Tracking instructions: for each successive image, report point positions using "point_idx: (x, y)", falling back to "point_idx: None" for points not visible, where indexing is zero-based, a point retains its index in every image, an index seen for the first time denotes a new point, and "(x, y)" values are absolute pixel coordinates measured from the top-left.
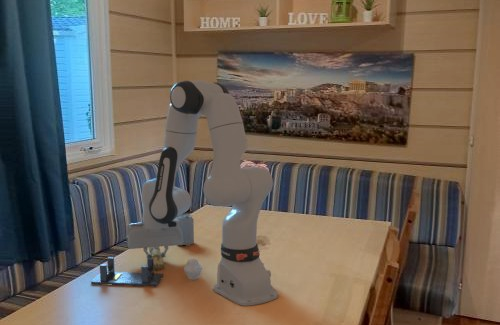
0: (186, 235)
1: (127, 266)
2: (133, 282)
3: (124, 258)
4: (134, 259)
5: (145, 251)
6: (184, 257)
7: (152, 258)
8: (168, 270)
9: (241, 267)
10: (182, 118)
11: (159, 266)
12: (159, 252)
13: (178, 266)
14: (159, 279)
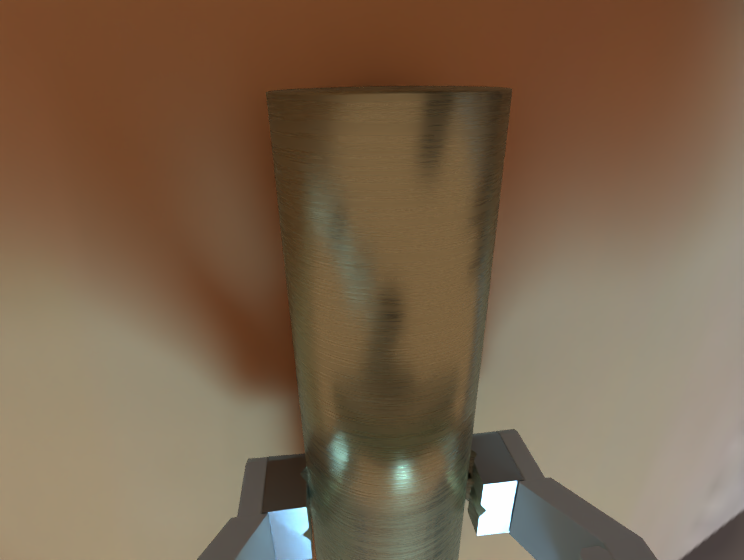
0: None
1: (714, 330)
2: None
3: (662, 516)
4: (587, 491)
5: (599, 523)
6: (7, 504)
7: (482, 336)
8: (193, 51)
9: None
10: None
11: (359, 89)
12: (341, 532)
13: (28, 207)
14: None
